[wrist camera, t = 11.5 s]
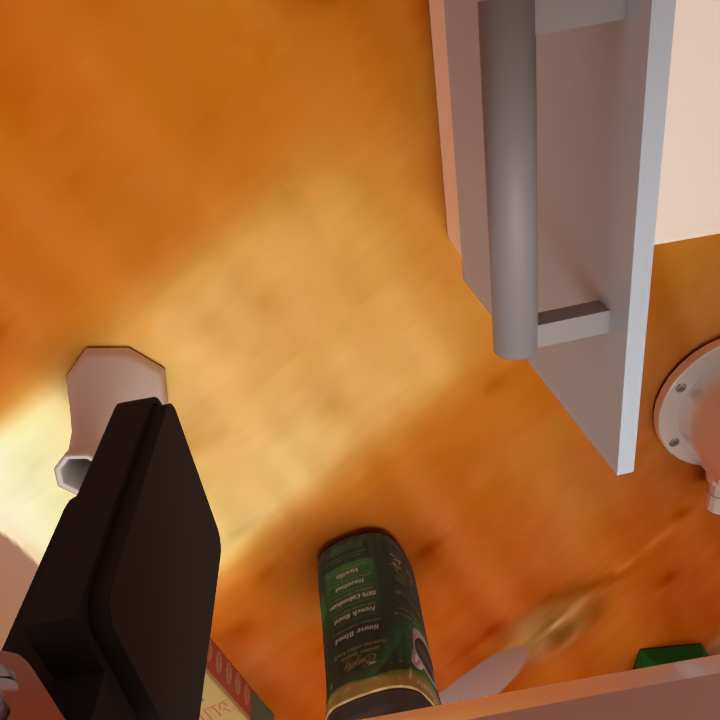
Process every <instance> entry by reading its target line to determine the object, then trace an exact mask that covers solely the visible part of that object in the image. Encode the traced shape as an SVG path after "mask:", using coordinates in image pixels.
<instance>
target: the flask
mask: <svg viewBox="0 0 720 720" xmlns="http://www.w3.org/2000/svg"><path fill="white" fill-rule="evenodd" d="M66 379H67V388H68V395H69V402H70V412H71V425H72V434H71V440H70V446H69V450H68V451H67V452H66V453H65V455H64V456H63V457H62V459H61V460H60V461H59V463H58V464H57V465H56V467H55V469H54V471H55V475H56V480H57V484H58V486H59V487H61V488H63V489H65V490H67V491H70V492H72V493H74V494H76V495H77V494H78V492H79V489H80V487H81V485H82V482H83V480H84V478H85V476H86V473H87V471H88V469H89V466H90V464H91V462H92V459H93V457H94V455H95V452H96V450H97V448H98V445H99V443H100V441H101V438H102V436H103V434H104V431H105V429H106V427H107V425H108V422H109V420H110V418H111V415H112V413H113V411H114V408H115V406H116V405H117V404H118V403H121V402H127V401H133V400H138V399H144V398H150V397H157V398H158V399H159V400H160V402H161V403H162V405H164V404H167V403H168V395H167V386H166V377H165V369H164V368H163V367H161V366H159V365H157V364H156V363H154V362H152V361H151V360H149V359H147V358H145V357H144V356H142V355H140V354H139V353H137V352H135V351H133V350H132V349H130V348H86V349H85V351H84V352H83V353H82V355H81V356H80V358H79V359H78V360H77V362H76V363H75V365H74V366H73V367H72V369H71V370H70V372H69V373H68V374H67V376H66Z"/></svg>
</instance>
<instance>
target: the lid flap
mask: <svg viewBox="0 0 720 720" xmlns="http://www.w3.org/2000/svg"><path fill="white" fill-rule="evenodd" d="M675 8H676V0H444V13H445V27H446V41H447V55H448V69H449V84H450V98H451V112H452V126H453V140H454V154H455V168H456V183H457V197H458V211H459V225H460V239H461V253H462V267H463V279H464V281H465V282H466V283H467V285H468V286H469V287H470V288H471V290H472V291H473V292H474V293H475V295H476V296H477V297H478V299H479V300H480V301H481V302H482V304H483V305H484V306H485V308H486V309H487V310H488V311H489V313H490V314H491V315H492V322H493V344H494V352H495V353H496V354H497V355H498V356H500V357H502V358H506V359H512V360H518V359H526V360H527V361H528V362H529V364H530V365H531V366H532V368H533V369H534V370H535V371H536V373H537V374H538V375H539V376H540V378H541V379H542V380H543V382H544V383H545V384H546V385H547V387H548V388H549V389H550V390H551V392H552V393H553V394H554V396H555V397H556V398H557V399H558V401H559V402H560V403H561V405H562V406H563V407H564V408H565V410H566V411H567V412H568V413H569V415H570V416H571V417H572V419H573V420H574V421H575V422H576V424H577V425H578V426H579V428H580V429H581V430H582V431H583V433H584V434H585V435H586V436H587V438H588V439H589V440H590V442H591V443H592V444H593V445H594V447H595V448H596V449H597V450H598V452H599V453H600V454H601V456H602V457H603V458H604V459H605V461H606V462H607V463H608V465H609V466H610V467H611V468H612V470H613V471H614V472H615V473H616V475H621V474H626V473H630V472H634V461H635V450H636V439H637V428H638V417H639V406H640V395H641V384H642V373H643V362H644V351H645V340H646V328H647V317H648V306H649V295H650V284H651V273H652V262H653V251H654V240H655V229H656V218H657V207H658V196H659V185H660V174H661V163H662V151H663V140H664V129H665V118H666V107H667V96H668V85H669V74H670V63H671V52H672V41H673V30H674V19H675Z"/></svg>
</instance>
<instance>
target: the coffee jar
mask: <svg viewBox="0 0 720 720" xmlns="http://www.w3.org/2000/svg"><path fill="white" fill-rule="evenodd" d="M318 582H319V595H320V606H321V617H322V629H323V643H324V659H325V672H326V689H327V700H326V714H325V720H361V719H366V718H372V717H377V716H382V715H388V714H393V713H399V712H404V711H410V710H415V709H421V708H426V707H431V706H437V705H441V702H440V698H439V694H438V690H437V685H436V680H435V676H434V671H433V666H432V661H431V656H430V651H429V646H428V641H427V637H426V632H425V627H424V622H423V616H422V611H421V606H420V601H419V596H418V591H417V586H416V581H415V577H414V574H413V571H412V568H411V566H410V564H409V562H408V560H407V559H406V557H405V555H404V553H403V552H402V550H401V549H400V548H399V546H398V545H397V544H396V543H395V542H394V540H393V539H391V538H390V537H389V536H387V535H385V534H381V533H364V534H357V535H353V536H350V537H347V538H345V539H343V540H340V541H338V542H336V543H335V544H333V545H332V546H330V547H328V548H327V549H326V550H325V551H324V552H323V553H322V554H321V556H320V558H319V560H318Z"/></svg>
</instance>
